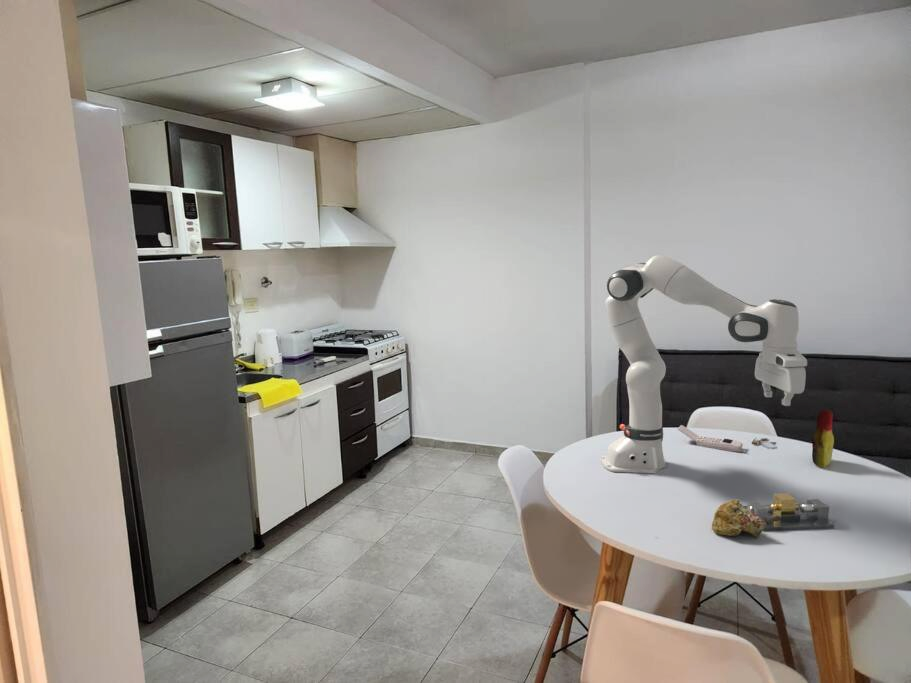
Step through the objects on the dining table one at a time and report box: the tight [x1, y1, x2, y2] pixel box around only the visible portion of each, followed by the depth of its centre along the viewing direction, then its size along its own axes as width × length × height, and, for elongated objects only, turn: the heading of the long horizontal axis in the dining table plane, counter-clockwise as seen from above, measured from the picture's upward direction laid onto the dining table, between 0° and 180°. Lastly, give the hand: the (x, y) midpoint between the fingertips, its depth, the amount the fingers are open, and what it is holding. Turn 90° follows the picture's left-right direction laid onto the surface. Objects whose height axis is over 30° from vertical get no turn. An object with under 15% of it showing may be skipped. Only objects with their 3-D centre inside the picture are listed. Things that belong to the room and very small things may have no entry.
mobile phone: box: [677, 424, 747, 454], centre depth 220 cm, size 6×6×25 cm
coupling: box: [769, 493, 799, 518], centre depth 161 cm, size 7×4×6 cm, turn 90°
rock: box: [711, 499, 766, 538], centre depth 154 cm, size 12×9×10 cm
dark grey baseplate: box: [742, 498, 835, 531], centre depth 161 cm, size 21×13×5 cm, turn 90°
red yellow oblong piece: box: [811, 408, 835, 468], centre depth 197 cm, size 12×6×20 cm, turn 142°
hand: (776, 401), depth 168 cm, fingers open, 8 cm apart
